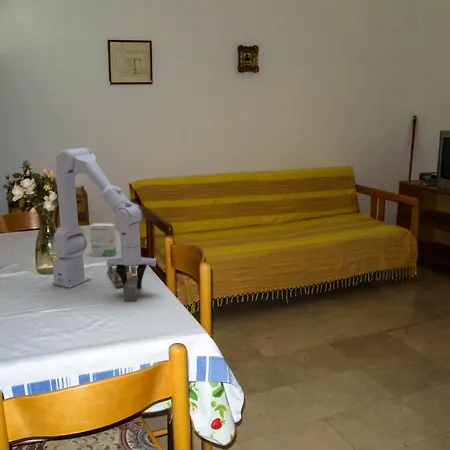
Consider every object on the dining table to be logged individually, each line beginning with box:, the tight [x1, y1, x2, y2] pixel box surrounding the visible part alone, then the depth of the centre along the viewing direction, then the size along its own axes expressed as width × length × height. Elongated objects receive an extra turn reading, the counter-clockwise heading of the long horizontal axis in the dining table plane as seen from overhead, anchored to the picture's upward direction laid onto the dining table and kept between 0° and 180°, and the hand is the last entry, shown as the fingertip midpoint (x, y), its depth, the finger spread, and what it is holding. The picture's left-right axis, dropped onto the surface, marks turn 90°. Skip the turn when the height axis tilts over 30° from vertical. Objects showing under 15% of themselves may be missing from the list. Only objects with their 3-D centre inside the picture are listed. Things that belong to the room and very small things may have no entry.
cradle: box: [106, 266, 137, 289], centre depth 176 cm, size 16×7×6 cm, turn 22°
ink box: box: [89, 222, 117, 257], centre depth 203 cm, size 9×5×12 cm, turn 84°
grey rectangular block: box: [122, 273, 143, 302], centre depth 163 cm, size 12×4×5 cm, turn 0°
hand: (132, 288), depth 163 cm, fingers closed on grey rectangular block, 3 cm apart
